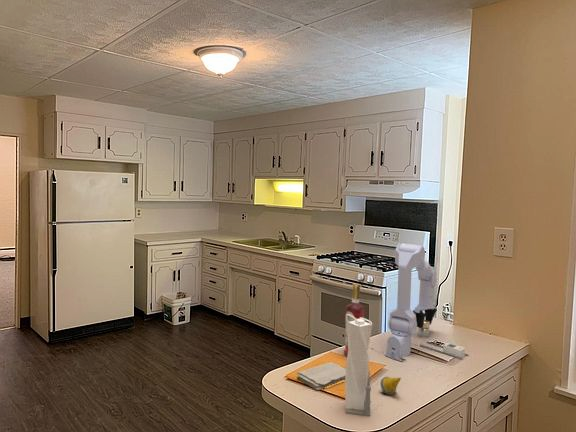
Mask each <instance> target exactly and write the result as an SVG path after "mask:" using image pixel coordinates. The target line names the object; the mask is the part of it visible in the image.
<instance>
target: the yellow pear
mask: <svg viewBox="0 0 576 432" xmlns="http://www.w3.org/2000/svg"><path fill="white" fill-rule="evenodd" d="M401 380H402V377H389V376H384V377H383V378H382V379H381V380H380V383H379V384H380V387H381V390H382V394H384V393H385V395H389V396H390V395H393V394H395V393H396V391H397V387H398V385H399V383H400V382H401Z"/></svg>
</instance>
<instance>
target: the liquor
mask: <svg viewBox="0 0 576 432" xmlns="http://www.w3.org/2000/svg"><path fill="white" fill-rule="evenodd" d="M360 289H361V285H360V284H359V283H352V298H351V303H349V304H347V305H346V306H345V315H346V314H350V315H352V316H354V317H355V318H356V319H360V317H362V318H365V310H366V309H365V307H364V306H363V305H362V304H360ZM347 317H348V322H351V321H355V319H354V318H352V317H351V316H347ZM344 345H345V348H344V350H343V352H344V354H345V355H346V356H347V355H348V350H349V349H348V332H347V318H346V317H345V343H344Z"/></svg>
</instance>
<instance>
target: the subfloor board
mask: <svg viewBox="0 0 576 432" xmlns="http://www.w3.org/2000/svg"><path fill="white" fill-rule="evenodd" d="M426 344H428V345H432V346H434V347H436V348H441V349H443V345H439V344H437V343H433V342H430V341H426ZM419 347H422V348H424V349H426V350H430V351H432V352H437V353H439V354H443V355H445V356H448V357H452V358H455V359H458V360H461V361H462V360H463V357H461V358H460V357H457V356H454V355H451V354H448V353H445V352H443V350H442V351H441V350H439V349H435V348H432V347H429V346H427V345H426V346H425V345H424V344H419ZM464 357H469V353H468V354H467V353H465V356H464Z"/></svg>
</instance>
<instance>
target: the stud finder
mask: <svg viewBox="0 0 576 432" xmlns="http://www.w3.org/2000/svg"><path fill="white" fill-rule="evenodd" d="M442 346H443V348H442V352H445V353H448V354H451V355H454V356H457V357H460V358H464V357H466V356H465V354H466V347H462V346H459V345H456V344H453V343H449V342H447V343H445V344H443V345H442Z"/></svg>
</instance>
